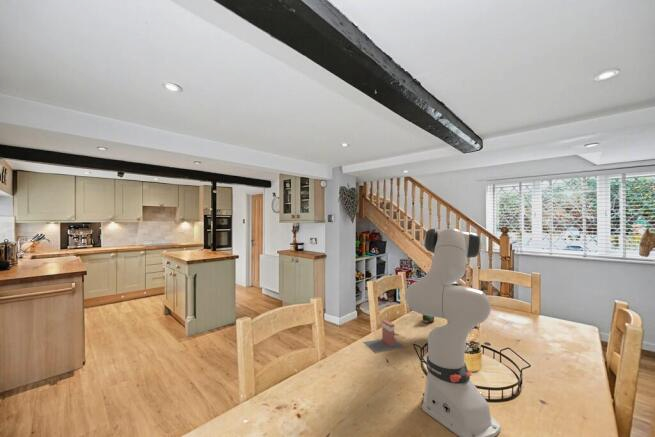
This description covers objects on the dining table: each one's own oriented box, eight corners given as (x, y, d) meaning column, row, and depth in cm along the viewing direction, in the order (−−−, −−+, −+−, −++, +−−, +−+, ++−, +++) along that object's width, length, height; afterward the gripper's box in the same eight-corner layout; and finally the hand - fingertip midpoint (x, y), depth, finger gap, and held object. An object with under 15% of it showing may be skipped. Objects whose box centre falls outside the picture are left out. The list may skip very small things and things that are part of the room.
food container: (432, 326, 155) (432, 308, 155) (422, 323, 158) (421, 306, 159) (438, 320, 164) (438, 303, 165) (428, 318, 168) (428, 302, 168)
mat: (406, 347, 127) (406, 347, 127) (375, 353, 121) (375, 352, 121) (392, 338, 138) (392, 337, 138) (363, 342, 132) (363, 342, 132)
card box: (394, 345, 128) (394, 324, 129) (390, 346, 128) (390, 325, 128) (386, 339, 135) (386, 319, 135) (382, 340, 134) (382, 320, 135)
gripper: (416, 289, 151) (396, 291, 146) (444, 298, 132) (421, 301, 127) (417, 300, 151) (396, 302, 146) (444, 311, 131) (421, 314, 127)
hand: (408, 302), depth 136 cm, fingers closed
